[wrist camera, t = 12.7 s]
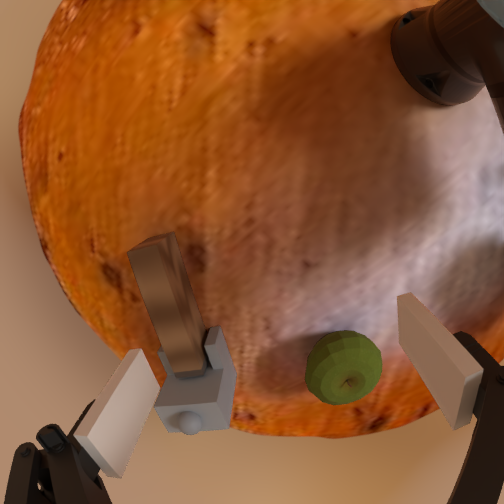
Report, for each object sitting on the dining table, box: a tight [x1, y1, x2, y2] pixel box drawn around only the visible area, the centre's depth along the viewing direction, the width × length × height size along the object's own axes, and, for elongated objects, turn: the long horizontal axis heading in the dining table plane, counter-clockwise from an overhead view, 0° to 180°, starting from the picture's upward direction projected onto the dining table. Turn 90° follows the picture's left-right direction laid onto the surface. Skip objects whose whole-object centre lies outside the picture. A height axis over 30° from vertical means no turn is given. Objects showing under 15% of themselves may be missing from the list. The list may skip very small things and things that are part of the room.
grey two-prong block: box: [154, 326, 237, 435], centre depth 39 cm, size 9×8×14 cm
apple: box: [305, 330, 382, 405], centre depth 40 cm, size 11×10×10 cm
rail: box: [127, 232, 209, 378], centre depth 40 cm, size 18×4×7 cm, turn 14°
